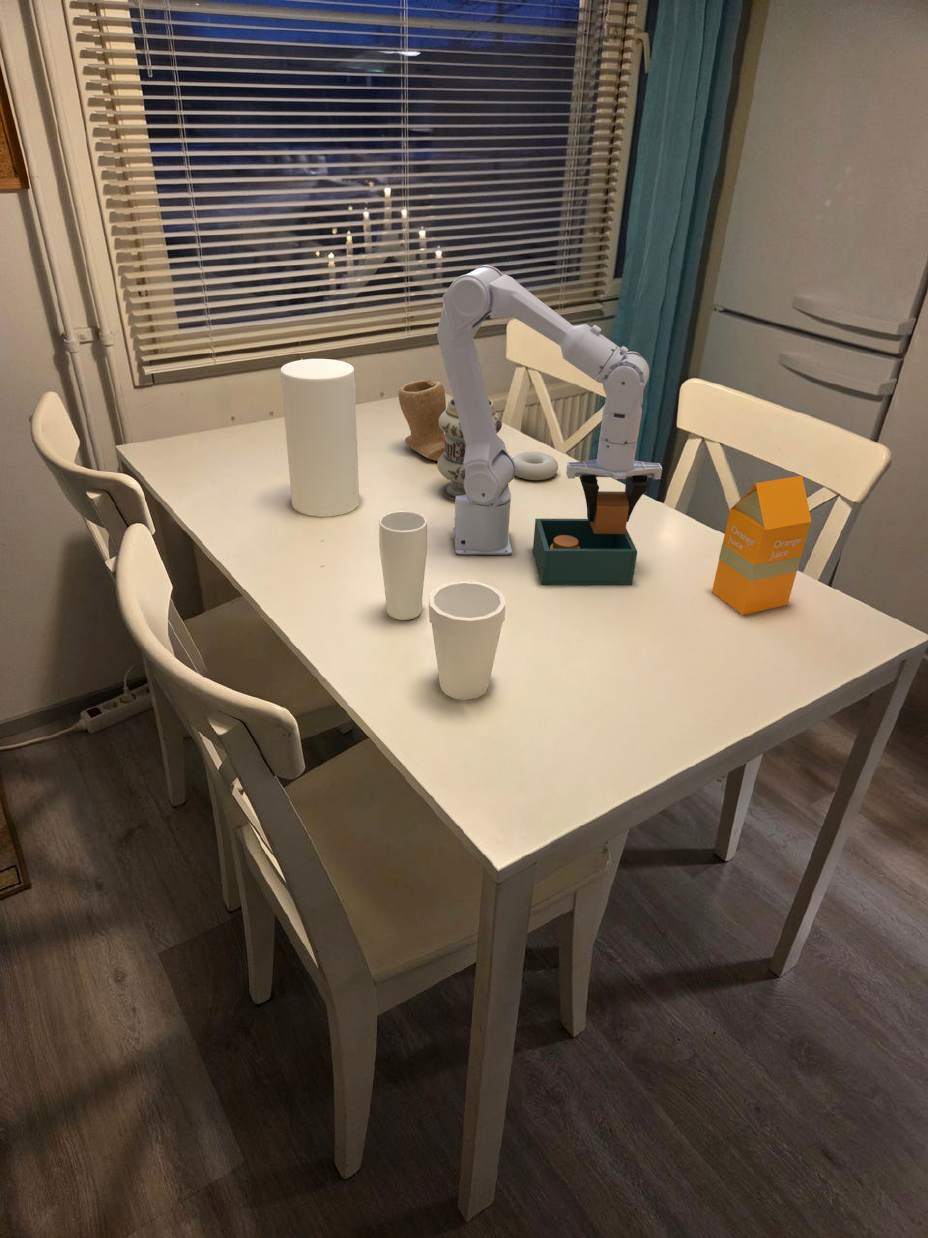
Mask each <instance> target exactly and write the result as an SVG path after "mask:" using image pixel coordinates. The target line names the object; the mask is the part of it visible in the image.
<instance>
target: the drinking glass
mask: <svg viewBox="0 0 928 1238" xmlns="http://www.w3.org/2000/svg"><path fill="white" fill-rule="evenodd" d="M378 542H379V543H378V546H379V555H380V563H381V571H382V580H383V587H384V595H385V611H386V613H387V615H388V616H389V617H390V618H392V619H394V620H397V621H409V620H413V619H416V618H418V617H419V615H421V614H422V611H423V594H424V582H425V576H426V575H425V574H426V573H425V572H426V563H427V555H428V521H427V518H425V516H424V515H422V514H420V513H418V512H414V511H408V510H407V511H406V510H401V511H400V510H398V511H393V512H389V513H386V514H384V515H382V516H381V517H380V519H379V524H378Z"/></svg>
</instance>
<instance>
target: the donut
mask: <svg viewBox="0 0 928 1238" xmlns="http://www.w3.org/2000/svg"><path fill="white" fill-rule="evenodd" d="M512 459H513V460H514V462H515V466H516V473H515V477H517V478H521V479H523V480H527V481H544V480H548V479H550V478H553V477H554V476H555V475H556V474H557V472H558V471H559V464H558V461H557V459H555V457H553V456H552V455H550V454H548V453H544V452H541V451H523V452H519V453H517V454H515V455H513V456H512Z"/></svg>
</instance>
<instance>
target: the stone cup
mask: <svg viewBox="0 0 928 1238" xmlns="http://www.w3.org/2000/svg"><path fill="white" fill-rule="evenodd" d="M446 399H447V398H446V390H445V388H444V385H443V384H442V382H440V381H434V380H432V379H420V380H415V381H412V382H408V383H404V384H403V385H402V386H400V387H399V389H398V402H399V406H400V408H401V411H402V414H403V417H404V419H405V420H406V422H407V425H408V427H409V431H410V435H408V436H406V437H405V438H404V442H405V444H406V446H408V447H409V448H410V449H412V450H413V451H415V452H416V453H418V454H419V455H420V456H423V457H424V458H426V459H429V460H432V461H436V462H438V459H439V458H440V456H441V455H442V454H443V453H444V448H445V433H444V432H443V431H442V430H441V428H440V426H439V418H440V416H441V414H442V413H443V412H444V411H445V410H447V402H446V401H447V400H446Z"/></svg>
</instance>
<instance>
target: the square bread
mask: <svg viewBox="0 0 928 1238" xmlns="http://www.w3.org/2000/svg"><path fill="white" fill-rule="evenodd" d="M628 511H629V501H628V495H627V493H626V492H625V491H610V490H609V491H606V490H605V491H602V490H601V491H599V490H598V494H597V499H596V504H595V516H594V521H593V522H590V525H591V527H592V530H593V532H594V534H625V531H626V529H627V524H628V522H627V517H628Z"/></svg>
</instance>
